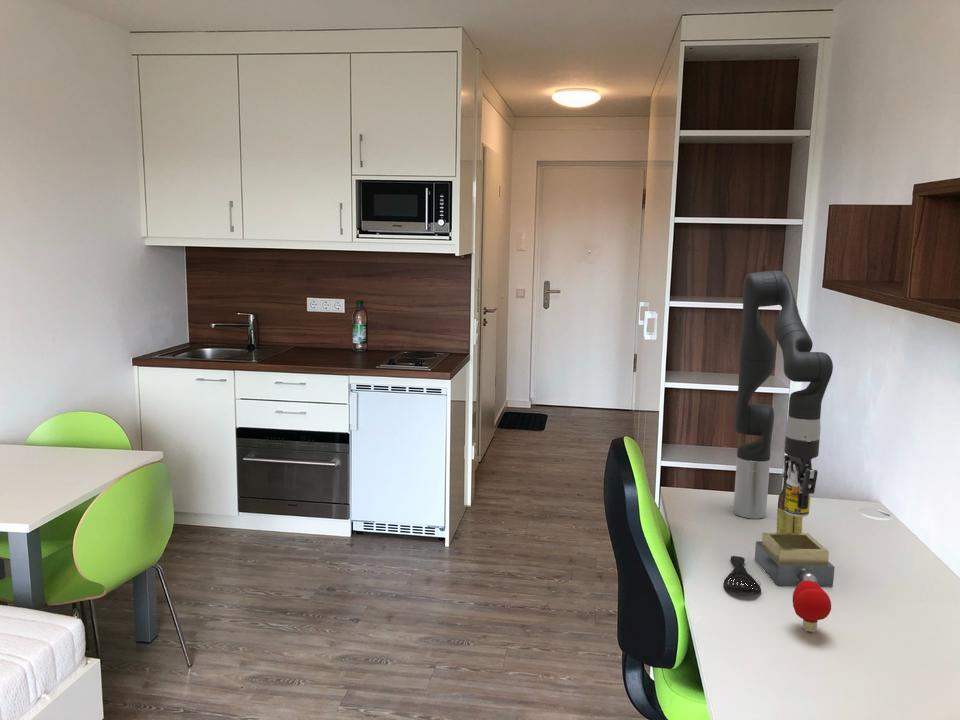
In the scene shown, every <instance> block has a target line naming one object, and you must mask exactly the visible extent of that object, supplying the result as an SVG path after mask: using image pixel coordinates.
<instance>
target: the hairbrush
mask: <svg viewBox="0 0 960 720" xmlns="http://www.w3.org/2000/svg"><path fill="white" fill-rule="evenodd" d="M745 559H746V558H745V557H742V556H739V555H731V556H730V561H731V562H732V563H733V564H734V567H733V570H731V571H730V572H729V573H728V575H726V576H725V578H726V579H725V578H724V580H723V583H722V584H723V585H724V586H723V589H724V588H725V589H724V590H727V591H732V592H739V593H740V592H741V593H751V594H758V595H759V594H762V588H761V585H762V584H761V583H760V580H759V579H758V577H756V576H755V577H754V576H752V575H754V574H753V572H752V573H751V575H750V574H749V573H748V570H747V568H746V567H745V566H744V565H745V562H746V561H745ZM730 578H731V579H730ZM729 579H730V580H729ZM734 579H735V580H734ZM728 580H729V581H728ZM731 580H732V581H731ZM733 580H734V582H733ZM741 581H742V582H741ZM737 582H738V583H737ZM733 583H734V585H733ZM736 583H737V584H738V585H737V584H736ZM741 583H742V584H744V585H740V584H741ZM745 583H746V584H747V585H748V586H747V585H746V584H745ZM754 583H755V584H754ZM751 585H752V586H751ZM752 588H753V589H752Z"/></svg>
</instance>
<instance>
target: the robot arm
mask: <svg viewBox="0 0 960 720" xmlns="http://www.w3.org/2000/svg"><path fill="white" fill-rule="evenodd" d="M774 306H780V307H781V310H780V312H779V314H778V316H777V318H776V320H775V324H774V328H773V329H774V331H773V332H774V336H775V338H776V341H777V343H778V344H779V346H780V348H781V350H782V351H781V352H782V357H783V359H782V360H783V373H784V375H785V376H786V378H787V379H788V380H790V381H791V382H796V383H809V384H808V385H807V386H806V388H804V389H800V390H797V391H793V392H791V393H790V394H789V395H790V396H789V398H788V400H789V401H788V412H787V420H786V425H785V434H784V435H785V439H784V449H783V451H784V454H785V455H784V456H783V458H784V461H783V463H784V464H783V466H784V467H783V473H784V478H783V480H784V479H787V480H788V479H789V478H790V475H791V471H793V472H795V481H796V483H797V484H798V491H799V493H798V504H797V507H798V508H799V509H807V508H808V499H809V494H811V495H812V494H813V495H814V494H815V489H816V486H817V485H816V484H817V480H818V479H817V478H818V470H817V469H813V467H812V466H813V465H812V460H813V459H815V458H817V457H819V452H820V451H819V450H820V442H821V441H820V439H821V429H822V427H821V414H822V404H823V398H824V396H825V393H826V390H827V387H828V385H829V383H830V380H831V378H832V374H833V370H834V365H833V364H834V363H833V360H832V358H831V356H830V355H829V354H828V353H826V352H822V351H812V349H813V341H812V338H811V335H810V334H809V332H808V329H806V327H805V325H804V323H803V321H802V319H801V316H800V312H799V309H798V305H797V301H796V298H795V294H794V291H793V288H792V285H791V282H790V280H789V277H788V276H787V275H786V273H785V272H783V271H782V270H768V271H766V270H765V271H759V272H757V271H756V272H750V273H748V274H746V275H745V278H744V280H743V286H742V334H741V343H740V349H739V351H740V352H739V361H738V362H739V367H738V368H739V369H738V370H739V371H738V384H737V385H738V386H737V387H738V388H737V394H736V402H735V406H734V409H735V410H734V414H733V416H734V417H733V427H734V430H735V432H736V433H737V434H740V435H747V436H759V437H758V438H757V439H756V440H754V441H752V442H748V443H745V444H741V445H739V446H738V447H737V451H736V463H735V465H736V466H735V468H736V469H735V481H734V495H733V510H732V511H733V514H735V515H736V516H739V517H742V518H746V519H755V520H756V519H763V518H766V516H767V506H768V494H769V493H768V490H769V481H770V480H769V479H770V466H771V465H770V464H771V448H772V438H773V437H772V436H773V429H774V423H775V422H774V421H775V409H774V408H773V406H772V405H770V404H763V403H762V404H761V403H752V402H751V403H749V402H750V401H751V398H752V397H753V395H754V393H755V392H756V391H757V390H758V389H759V387H761V386H762V385H763V384H764V383H765V382H766V381H767V380H768V379H769V377H770V376H771V374H772V373H773V372H774V369H775V361H776V351H777V350H776V345H775V343H774V340H773V338H772V337H771V336H770V335H769V332H767V330H766V329H765V328H764V326H763V324H762V323H761V320H760V318H759V308H762V307H774ZM800 478H804V480H800ZM802 484H803V486H802ZM810 485H811V487H810Z"/></svg>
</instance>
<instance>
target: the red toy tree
mask: <svg viewBox="0 0 960 720" xmlns="http://www.w3.org/2000/svg"><path fill="white" fill-rule="evenodd" d="M792 607H793V609H794V612H795V614H796V615H797V616H798V618H800V619H802V628H803V629H804V630H805V631H806V633H809V634H811V633H813V632H816V631H817V629H818V622H819V621H822V620H824V619H826V618H828V616H829V615H830V613H831V611H832V600H831V599H830V596H829V594H828V593H827V592H826V591H824V589H823V587H820V586H819V585H818V584H817V583H815V582H813V581H802V582H800V583H799V584H798V585H797V586H795V587H794V590H793V593H792Z"/></svg>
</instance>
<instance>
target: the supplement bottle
mask: <svg viewBox="0 0 960 720" xmlns="http://www.w3.org/2000/svg"><path fill="white" fill-rule="evenodd" d="M800 480H804V478H800ZM802 486H803V484H802ZM810 487H811V485H810ZM798 493H799V491H798V484H797V483H796V481H795V472H793V471H791V475H790V478H789V479H788V480H787V481H786V492H785V505H784V511H785V513H787V514H788V515H791V516H795V517H802V518H805V517H807V516H809V515H810V507H811V506H810V505H811V504H810V503H811V495H812V494H809V499H808V508H807V509H799V508H798V507H797V504H798Z"/></svg>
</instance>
